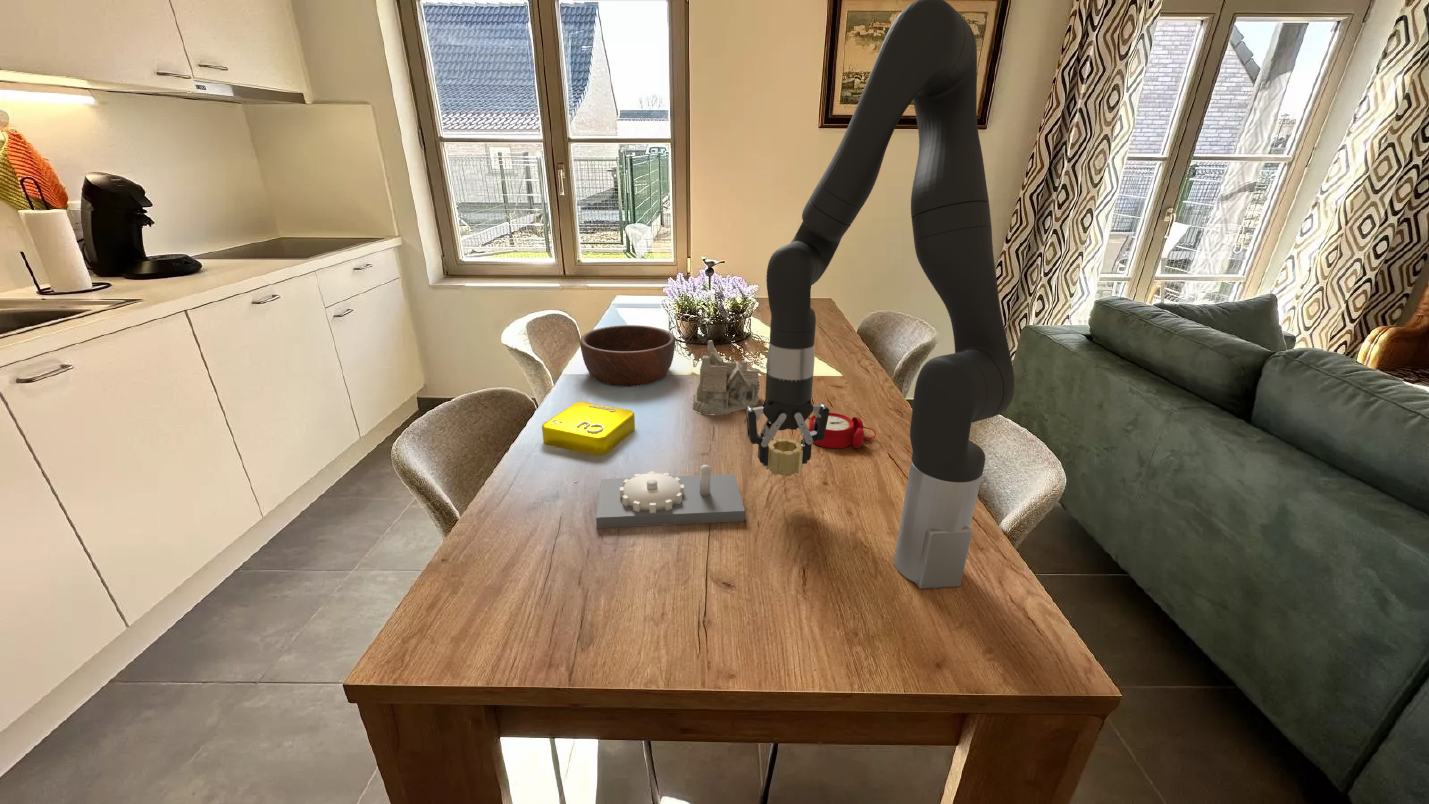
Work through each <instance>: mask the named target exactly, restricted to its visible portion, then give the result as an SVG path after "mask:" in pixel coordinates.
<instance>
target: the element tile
mask: <svg viewBox="0 0 1429 804" xmlns="http://www.w3.org/2000/svg"><path fill="white" fill-rule="evenodd" d="M635 426H636V421H635V412H634V411H633V410H630V409H625V408H620V407H615V406H610V405H609V406H608V405H604V404H597V403H592V402H587V401H577V402H575V403H573V404H571V405H569V406H568V407H566V408H565V409H564V410H562V411H561V412H559V413H557V414H556V415H554V416H553V417H551V418H550V419H548V420H547V421H545V422H544V423H542V426H541V429H542V430H541V431H542V440H543V444H544V445H545V446H550V447H553V448H554V447H555V448H559V449H562V450H564V449H565V450H569V451H573V452H577V453H582V454H586V455H592V456H604V455H607V454H608V453H610V452H611V451H612V450H613V449H615V448H616V447H617V446H618V445H619V444H621V442H622V441H624V440H625V439H626V438H628V436H629V435H631V434H633V432H634V431H635V429H636V427H635Z"/></svg>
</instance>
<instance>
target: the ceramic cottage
mask: <svg viewBox="0 0 1429 804" xmlns="http://www.w3.org/2000/svg"><path fill="white" fill-rule="evenodd" d="M760 386H761V385H760V381H759V370H749V369H748V361H747V360H745V359H744V360H741V364H740V363H739V361H738V360H736V361H735V362H734V361H724V359H723V358H722V356H721V355H720V353H718V350H717V348H716V347H715V345H714V342H713V340H712V339H711V340H710V339H709V340H708V341H707V355H703V356H702V359H701V364H700V368H699V381H698V386H697V387H696V392H695V394H693V400H692V401H693V402H692V410H693V411H694V410H695V411H697V412H700V413H703V414H702V415H704V414H715V415H714V416H722V414H726V415H730V414H732V413H731V412H733V413H735V412H734V411H736V412H738V411H737V410H740V411H742V410H746V409H745V408H746V407H747V406H753V407H755V406H757V405H758V404H759V403H758V402H760V400H759V399H760V398H759V395H758V393H759V390H760ZM695 411H694V412H695ZM697 412H696V413H697ZM700 413H699V414H700ZM729 413H730V414H729ZM718 414H719V415H718Z"/></svg>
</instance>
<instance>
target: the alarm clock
mask: <svg viewBox="0 0 1429 804" xmlns="http://www.w3.org/2000/svg"><path fill="white" fill-rule="evenodd" d="M807 419H808V420H809V426H808V427H807V428H808V430H809V432H812V431H813V428H814V423H815V419H816V416H815V415H814V414H813V415H812V416H811V417H808V418H807ZM864 429H867V430H870V431H873V433H874V436H872V437H871V436H870V437H865V430H864ZM876 436H877V433H876V431H875V429H873V428H870V427H867V426H864V424H863V421H862V419H861V418H860V417H858V416H853V417H852V418H850V417H848V416H845V415H843V414H841V413H836V412H829V416H828V421H827V426H826V430H825V435H824V439H823V440H822V441H818V440H817V441H815V442H813V443H812V444H813V445H816V446H819V447H823V448H826V449H827V448H829V449H844V448H848V447H850V446H852V447H853V448H854V449H858V448H861V446H862V444H863V442H864V441H866V440H870V439H874V438H876Z"/></svg>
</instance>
